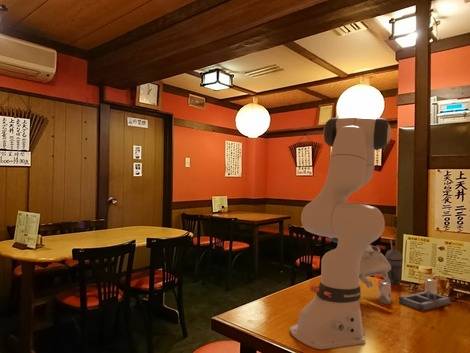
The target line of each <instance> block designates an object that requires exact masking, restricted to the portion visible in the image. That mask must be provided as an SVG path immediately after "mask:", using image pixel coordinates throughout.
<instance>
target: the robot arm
mask: <svg viewBox="0 0 470 353" xmlns="http://www.w3.org/2000/svg"><path fill="white" fill-rule="evenodd" d="M322 134H323V140H324V143H325V144H326V145H327V146H329V147H331V153H330V157H329V163H328V171H327V174H326V180H325V183H324V185H323V187H322V188H321V190H320V191H319V193H318V195H317V196H316V197H314V199H313V200H311V201H310V202H309V203H307V204H306V205H305V206H304V207H303V209H302V211H301V215H300V222H301V225H302V227H303V229H304V231H306V232H309V233H310V234H313V235H317V236H319V237H325V238H326V237H327V238H328V239H329V241H332V242H333V243H336V244H337V246H336V248H334V249H333V248H332V249H331V250H329V251H327V252H325V254H324V255H323V256H322V258H321V260H320V262H321V264H320V266H321V268H320V269H321V271H320V272H321V273H320V274H321V275H320V278H321V279H320V280H321V281H320V282H319V284H318V285H316V284H311V285H310V286H309V290H310V291H311V292H313V293H316V295H315V296H314V297H313V299H311V300H310V301H309V302H308V303H307V304H306V305H305V306H304V307H303V308H302V309H301V310H300V312H299V315H298V319H297V324H294V325H292V326H290V327H289V331H290V334H291V335H292V336H293V337H294V338H295V339H296V340H298V341H299V342H300V343H302V344H304V345H305V346H308V347H309V348H310V347H311V348H313V349H317V350H327V349H334V348H341V347H343V348H344V347H349V346H354V345H355V346H356V345H363V344H366V337H365V330H364V327H363V320H362V319H363V318H362V310H361V305H360V299H361V297H362V296H361V294H362V290H361V285H360V282H362V283H364V285H365V286H366V287H367V288H368V289H369V288H371V287H373V286H374V284H373V283H372V280H369V279H368V278H366V277H372V276H378V275H381V277H383V280H382V282H389V283H390V280H389V278H388V273H387V272H389V271H390V270H391V265H390V263H389V262H388V260H387V259H386V258H385V255H384V254H383V253H382V252H381V249H380V247H379V246H375V245H371V244H372V243H373V242H375V241H377V240H378V239H379V238H380V237H381V236H382V234H383V233H384V231H385V227H386V225H385V224H386V221H385V218H384V214H383V213H382V212H381V210H380V209H379V208H377V206H372V205H368V204H364V203H357V202H356V203H353V202H347V201H348V199H349V197H350V196H351V194H352V195H353V193H357V192H358V191H359V190H361V188H362V187H363V186H365V185H367V184H368V183H369V182H370V181H371V180H372V179H373V176H374V173H375V172H374V171H375V158H376V157H375V156H376V155H375V153H376V152H375V151H379V150H383V149H385V148H386V147H387V146H388V144H389V143H390V141H391V138H392V128H391V125H390V122H389V121H388V120H387V119H386V118H381V117H376V118H373V117H365V116H363V117H362V116H361V117H360V116H359V117H358V116H345V117H332V118H329V119H328V120H326V122H325V124H324V128H323V131H322Z"/></svg>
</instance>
